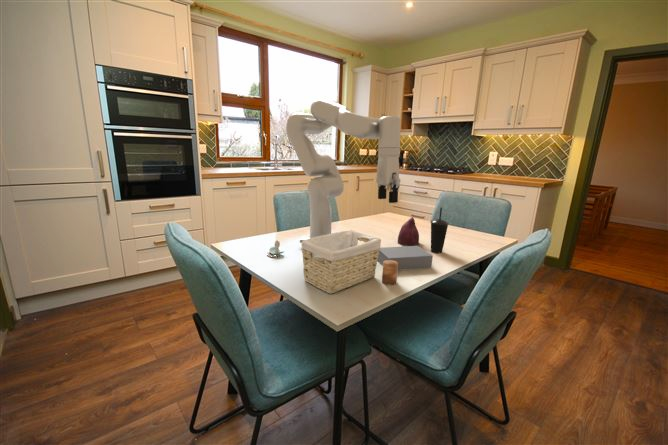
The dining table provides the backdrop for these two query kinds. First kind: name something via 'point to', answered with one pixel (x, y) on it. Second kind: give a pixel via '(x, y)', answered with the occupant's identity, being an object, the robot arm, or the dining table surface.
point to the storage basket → (339, 259)
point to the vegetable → (408, 234)
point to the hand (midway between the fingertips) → (387, 200)
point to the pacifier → (275, 249)
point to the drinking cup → (438, 234)
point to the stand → (406, 257)
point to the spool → (389, 272)
